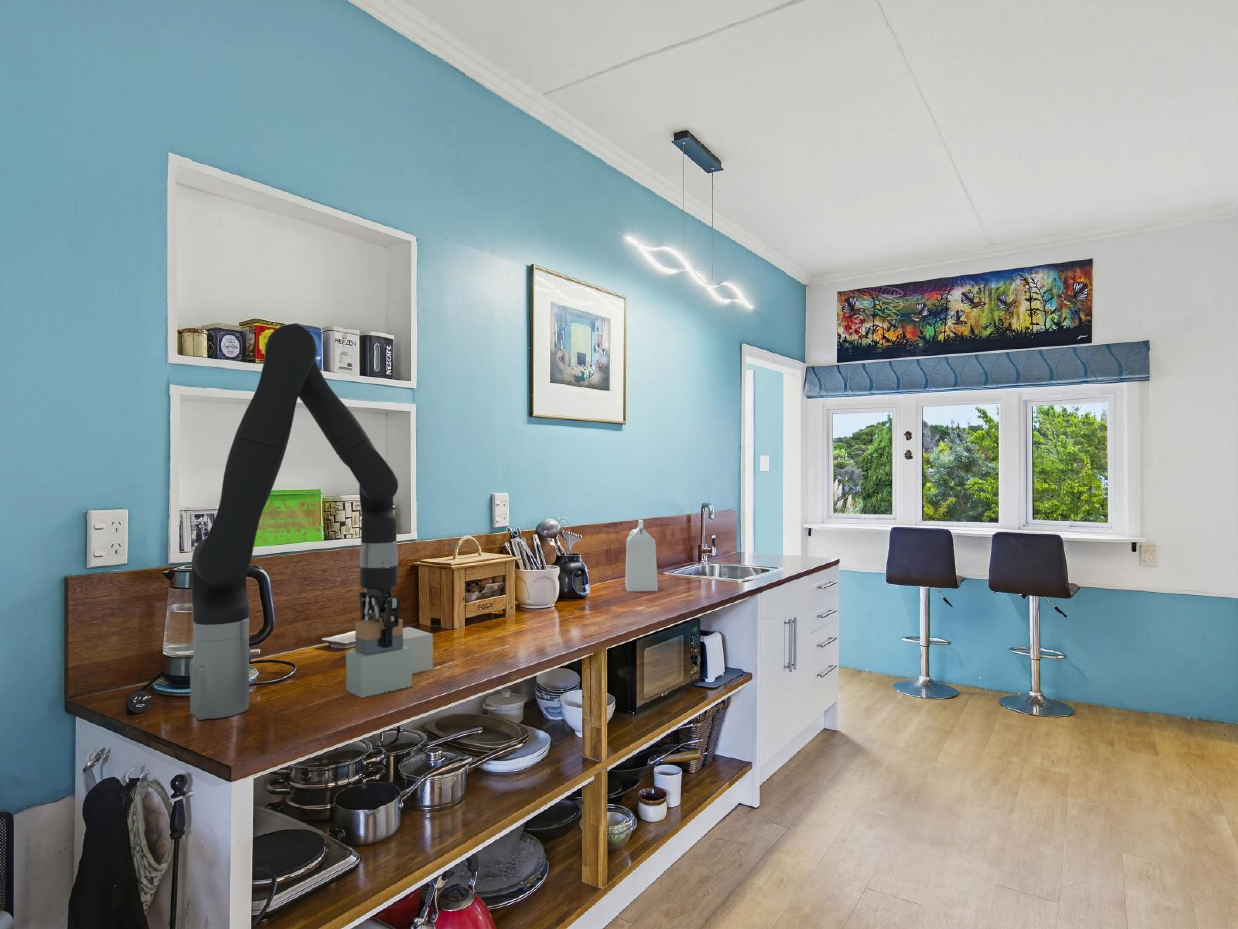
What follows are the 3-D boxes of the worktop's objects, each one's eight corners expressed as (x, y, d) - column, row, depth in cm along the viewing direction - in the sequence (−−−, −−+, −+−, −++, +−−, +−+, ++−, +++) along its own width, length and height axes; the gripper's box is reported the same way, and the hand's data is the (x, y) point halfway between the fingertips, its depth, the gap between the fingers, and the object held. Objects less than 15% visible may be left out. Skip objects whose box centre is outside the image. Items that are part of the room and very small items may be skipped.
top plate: (366, 640, 149) (366, 620, 149) (355, 636, 153) (355, 617, 153) (402, 634, 155) (402, 615, 155) (391, 630, 158) (391, 611, 158)
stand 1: (361, 697, 147) (361, 657, 147) (346, 690, 152) (346, 651, 153) (412, 686, 155) (411, 648, 155) (396, 679, 160) (396, 642, 160)
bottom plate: (366, 655, 149) (366, 640, 149) (355, 651, 153) (355, 636, 153) (402, 648, 155) (402, 634, 155) (391, 644, 158) (391, 630, 158)
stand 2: (404, 675, 164) (404, 639, 164) (381, 666, 172) (381, 631, 172) (432, 669, 168) (432, 634, 168) (409, 660, 176) (409, 627, 176)
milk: (657, 591, 277) (657, 521, 277) (627, 591, 276) (626, 521, 276) (654, 586, 289) (654, 519, 289) (625, 586, 288) (624, 519, 288)
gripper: (346, 562, 157) (347, 642, 156) (377, 568, 146) (378, 654, 146) (380, 559, 162) (380, 636, 162) (412, 565, 151) (412, 647, 151)
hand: (379, 644), depth 154 cm, fingers open, 6 cm apart
